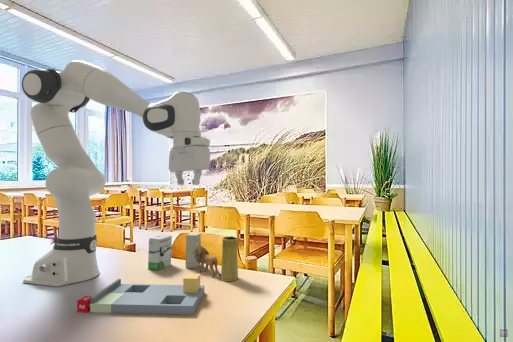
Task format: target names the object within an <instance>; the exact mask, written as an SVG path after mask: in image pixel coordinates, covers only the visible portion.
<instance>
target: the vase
mask: <svg viewBox="0 0 513 342" xmlns="http://www.w3.org/2000/svg"><path fill="white" fill-rule="evenodd" d="M221 246H222V247H221V248H222V249H221V250H222V252H221V253H222V254H221V268H220V269H221V272H220V274H221V276H220V280H221V281H223V282H226V283H227V282H228V283H229V282H230V283H232V282H235V281H237V280H238V279H239V268H238V267H239V266H238V237H237V236H224V237H222V245H221Z"/></svg>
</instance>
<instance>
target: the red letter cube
mask: <svg viewBox="0 0 513 342" xmlns="http://www.w3.org/2000/svg"><path fill="white" fill-rule="evenodd" d="M93 296H94V295H90V296H89V295H85V296H82V297H81V298H79V299H77V300H76V304H77V305H76V312H77V313H85V314H88V313H89V312H90V301H91V297H93Z"/></svg>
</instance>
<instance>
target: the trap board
mask: <svg viewBox="0 0 513 342" xmlns="http://www.w3.org/2000/svg"><path fill="white" fill-rule="evenodd" d="M204 295H205V285H201V284H200V288H199V290H198V292H197V293H190V292H183V284H156V283H155V284H153V283H151V284H147V283H146V284H144V283H122V280H121V278H117V279H116V280H114V281H113V282H112V283H110V284H108V285H107V286H106V287H104V288H102V289H101V290H99V291H98V292H97V293H95V294H94V295H92V296H93V297H91V301H90V311H89V312H90V313H100V314H101V313H103V314H104V313H106V314H107V313H109V314H113V313H114V314H148V315H149V314H150V315H151V314H153V315H187V316H189V315H191V316H194V314H195V311H196V310H197V308H198V306H199V304H200V301H201V300H202V298H203V296H204Z"/></svg>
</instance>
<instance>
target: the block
mask: <svg viewBox="0 0 513 342" xmlns="http://www.w3.org/2000/svg"><path fill="white" fill-rule="evenodd" d="M182 285H183V292H190V293H197V292H198V290H199V288H200V285H201V273H187V274H186V275H184V277H183V280H182Z"/></svg>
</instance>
